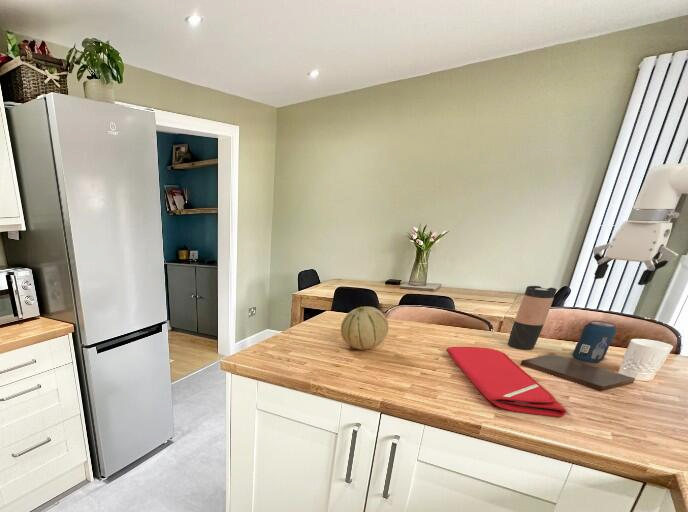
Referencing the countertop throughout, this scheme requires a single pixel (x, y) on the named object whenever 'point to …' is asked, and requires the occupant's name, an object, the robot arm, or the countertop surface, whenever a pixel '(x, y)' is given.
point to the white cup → (644, 358)
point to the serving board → (578, 372)
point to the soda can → (594, 342)
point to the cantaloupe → (364, 328)
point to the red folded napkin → (504, 381)
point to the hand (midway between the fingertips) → (619, 281)
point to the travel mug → (531, 317)
